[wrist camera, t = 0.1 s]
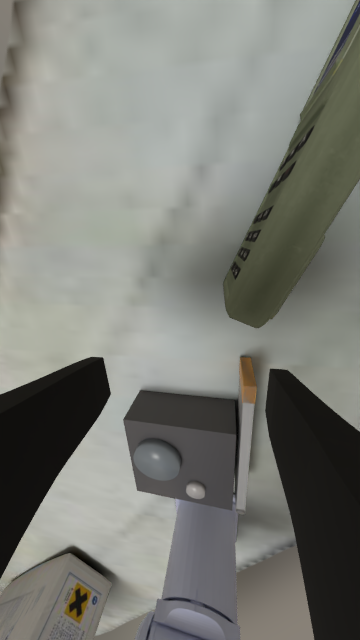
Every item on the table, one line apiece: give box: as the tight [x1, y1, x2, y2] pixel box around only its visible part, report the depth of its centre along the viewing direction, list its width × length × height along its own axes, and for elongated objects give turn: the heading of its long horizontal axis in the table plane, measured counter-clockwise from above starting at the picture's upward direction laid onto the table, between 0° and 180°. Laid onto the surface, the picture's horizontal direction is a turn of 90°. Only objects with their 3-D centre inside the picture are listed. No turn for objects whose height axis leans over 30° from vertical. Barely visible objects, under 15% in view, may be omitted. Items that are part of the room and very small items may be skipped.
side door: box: [234, 357, 257, 515], centre depth 19 cm, size 15×1×4 cm, turn 3°
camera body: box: [123, 391, 236, 511], centre depth 21 cm, size 10×10×5 cm
